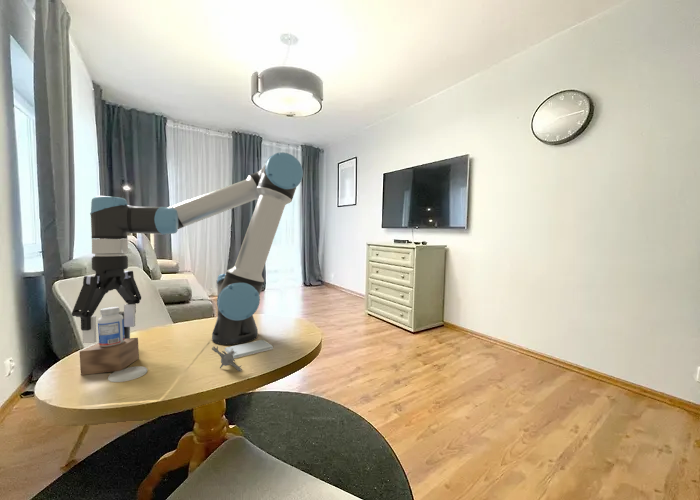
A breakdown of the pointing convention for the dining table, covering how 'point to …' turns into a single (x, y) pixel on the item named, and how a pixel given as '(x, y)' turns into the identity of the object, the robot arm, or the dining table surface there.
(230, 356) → the grey cross-shaped piece
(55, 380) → the dining table surface
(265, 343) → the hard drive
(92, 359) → the walnut block
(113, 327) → the pill bottle
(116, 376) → the grey coaster
